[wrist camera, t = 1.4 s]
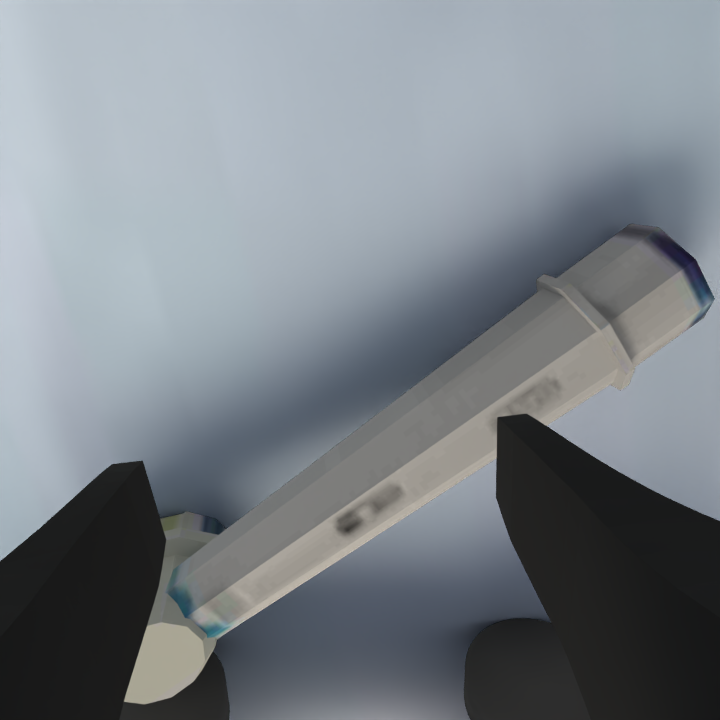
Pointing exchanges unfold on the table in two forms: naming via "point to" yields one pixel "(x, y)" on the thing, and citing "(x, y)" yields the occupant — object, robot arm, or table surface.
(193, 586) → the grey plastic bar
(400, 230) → the table surface
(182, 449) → the table surface
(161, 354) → the table surface
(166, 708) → the trolley
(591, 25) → the table surface
